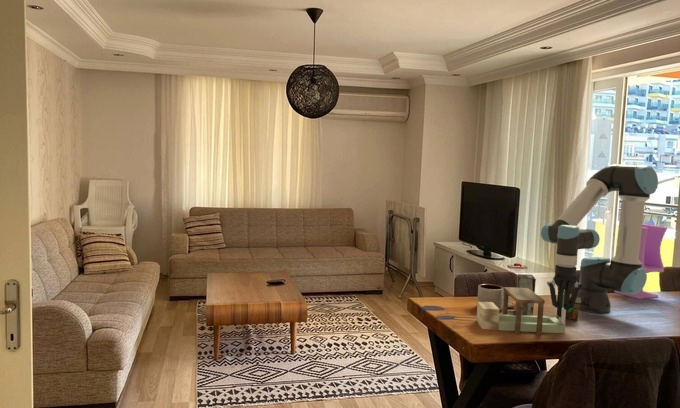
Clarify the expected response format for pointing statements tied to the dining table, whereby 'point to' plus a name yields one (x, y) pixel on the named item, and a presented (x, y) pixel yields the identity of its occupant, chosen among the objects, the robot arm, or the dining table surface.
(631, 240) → the robot arm
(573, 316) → the food container
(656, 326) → the dining table surface
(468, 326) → the dining table surface
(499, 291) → the planter
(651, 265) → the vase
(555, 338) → the dining table surface
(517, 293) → the brown legged piece
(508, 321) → the pale green tray
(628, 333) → the dining table surface
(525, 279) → the coffee box
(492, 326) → the beech block
